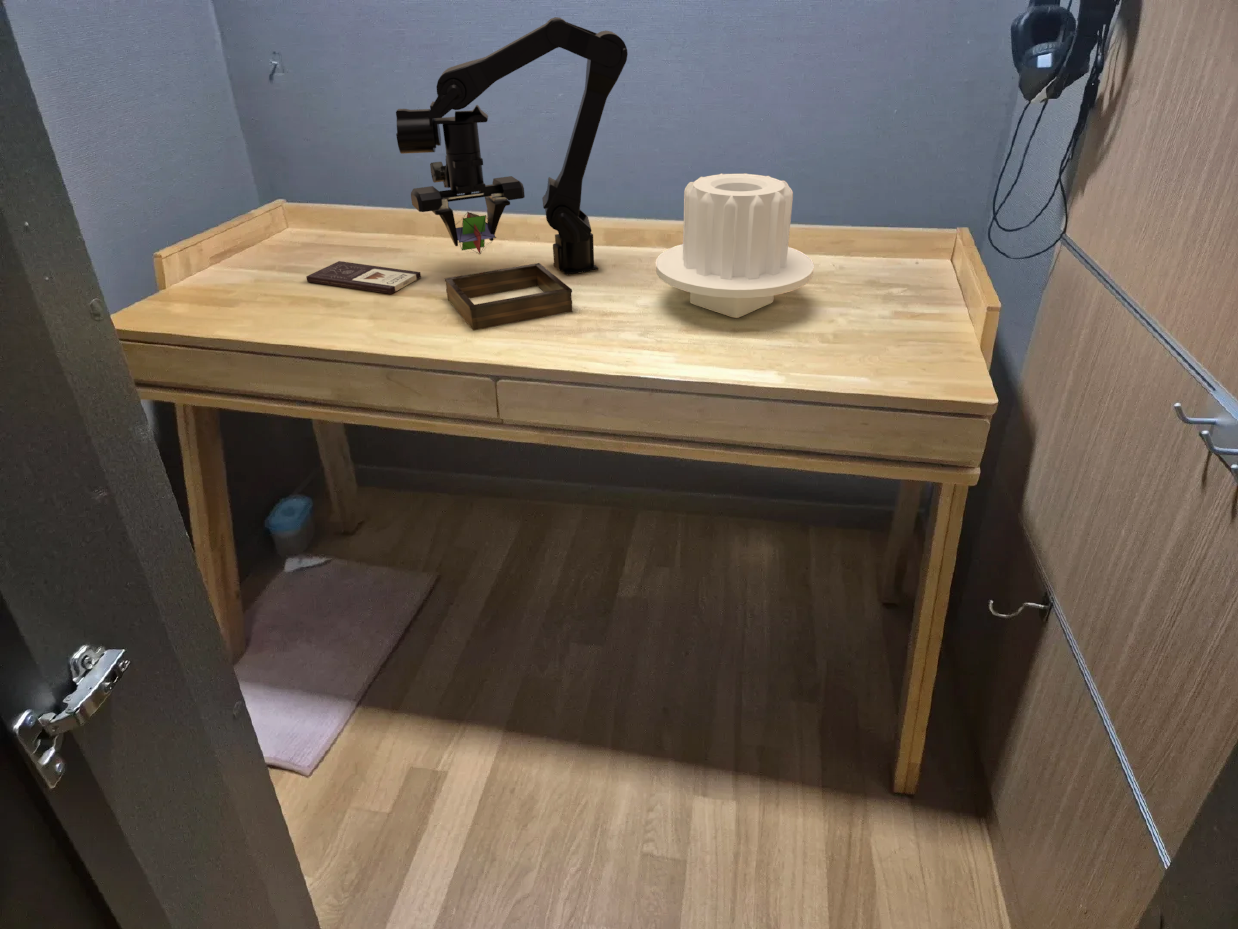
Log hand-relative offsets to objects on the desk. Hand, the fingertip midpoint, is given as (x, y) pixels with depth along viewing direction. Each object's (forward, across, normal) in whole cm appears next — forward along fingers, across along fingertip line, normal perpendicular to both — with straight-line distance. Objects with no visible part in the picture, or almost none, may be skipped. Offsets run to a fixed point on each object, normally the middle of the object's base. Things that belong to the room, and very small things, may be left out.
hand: (473, 242), depth 145 cm
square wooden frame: (+6, 0, +18) cm, 19 cm away
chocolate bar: (+6, +19, -6) cm, 21 cm away
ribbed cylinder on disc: (+6, -33, +34) cm, 48 cm away
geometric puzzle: (+2, 0, 0) cm, 2 cm away
